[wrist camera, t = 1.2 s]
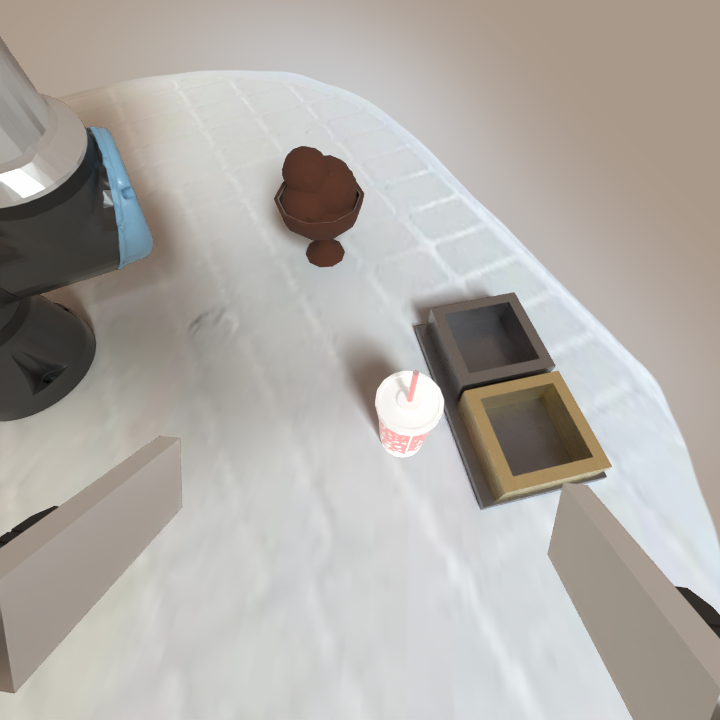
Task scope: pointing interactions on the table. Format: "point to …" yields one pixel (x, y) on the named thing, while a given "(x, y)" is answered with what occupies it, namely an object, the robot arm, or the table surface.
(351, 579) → the table surface
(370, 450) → the table surface
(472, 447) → the square compartment tray
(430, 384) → the beverage cup
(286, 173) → the ice cream bowl
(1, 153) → the robot arm
